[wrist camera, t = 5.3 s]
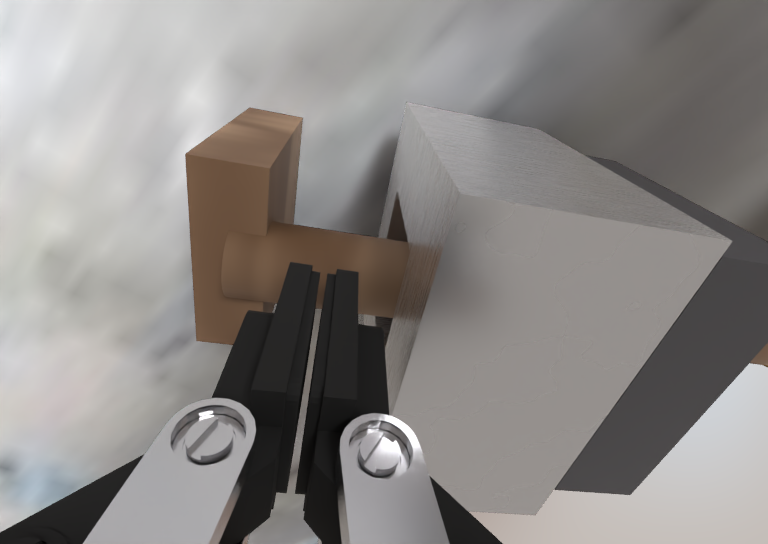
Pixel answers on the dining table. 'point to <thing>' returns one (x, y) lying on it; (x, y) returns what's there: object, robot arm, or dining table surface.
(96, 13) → the dining table surface
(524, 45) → the dining table surface
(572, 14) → the dining table surface
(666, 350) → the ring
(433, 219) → the sleeve
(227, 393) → the robot arm
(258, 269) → the dowel rail
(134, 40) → the dining table surface
